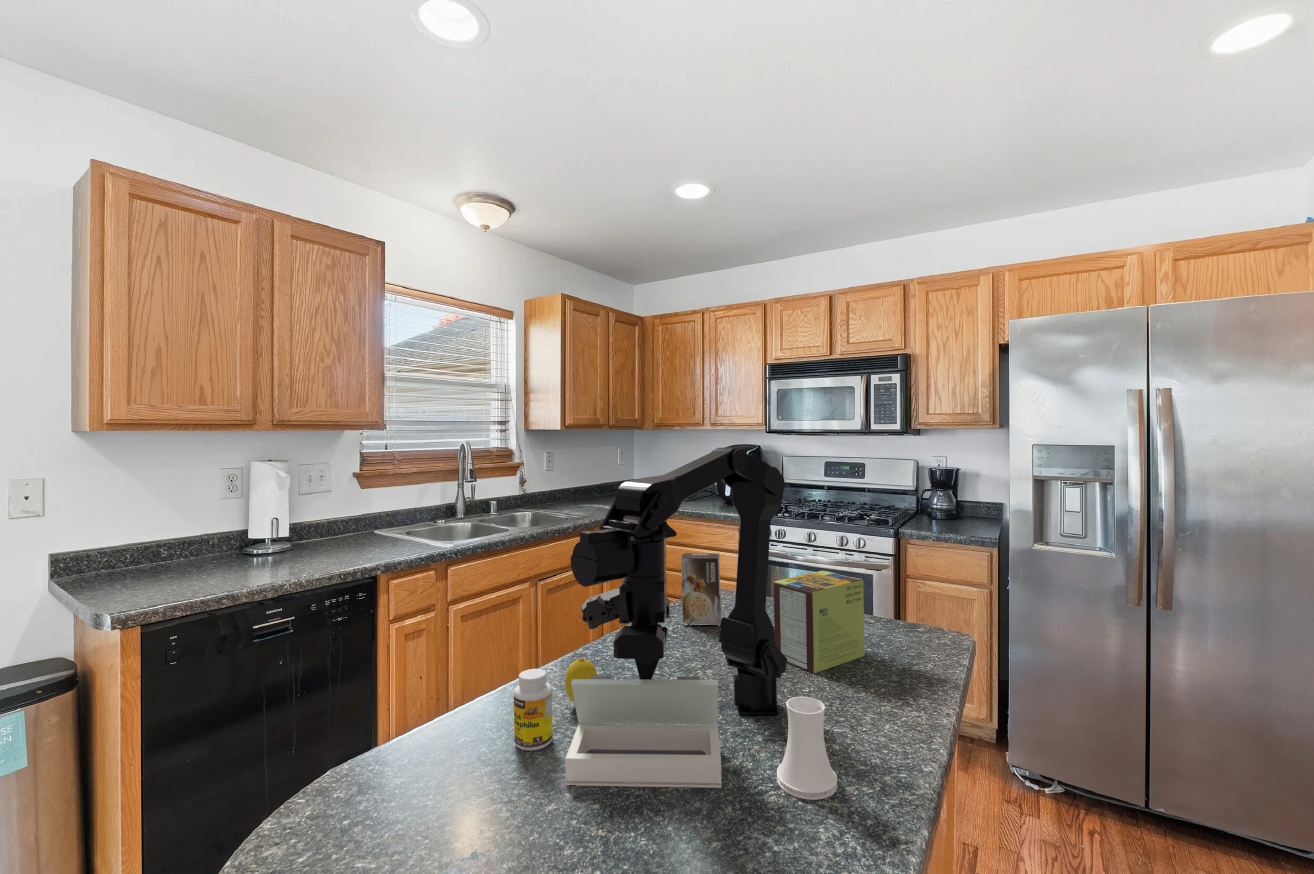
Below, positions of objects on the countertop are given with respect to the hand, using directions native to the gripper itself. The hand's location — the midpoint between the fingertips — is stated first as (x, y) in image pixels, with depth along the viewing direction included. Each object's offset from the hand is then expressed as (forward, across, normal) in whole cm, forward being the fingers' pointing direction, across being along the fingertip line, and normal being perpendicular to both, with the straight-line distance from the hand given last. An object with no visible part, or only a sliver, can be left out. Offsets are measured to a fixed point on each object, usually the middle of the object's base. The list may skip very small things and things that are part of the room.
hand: (645, 685), depth 81 cm
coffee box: (+12, -61, +8) cm, 62 cm away
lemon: (+11, -16, -12) cm, 23 cm away
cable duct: (+10, +1, 0) cm, 11 cm away
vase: (+10, +4, +21) cm, 24 cm away
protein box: (+11, -39, +32) cm, 51 cm away
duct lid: (+3, -1, 0) cm, 3 cm away
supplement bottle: (+11, -4, -17) cm, 21 cm away
